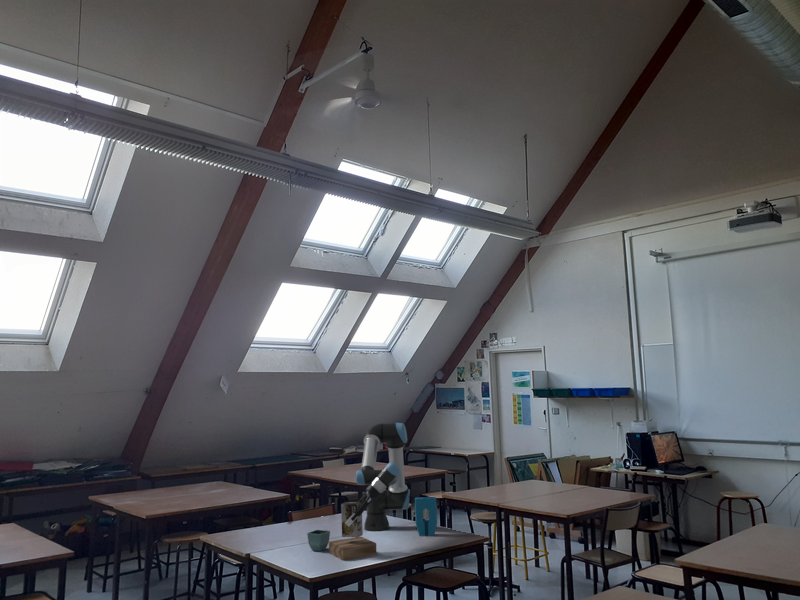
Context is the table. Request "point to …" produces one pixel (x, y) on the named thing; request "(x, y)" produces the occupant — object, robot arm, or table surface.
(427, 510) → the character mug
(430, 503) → the block
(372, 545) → the walnut block
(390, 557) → the table surface
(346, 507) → the coffee box
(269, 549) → the table surface
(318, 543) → the flower pot
